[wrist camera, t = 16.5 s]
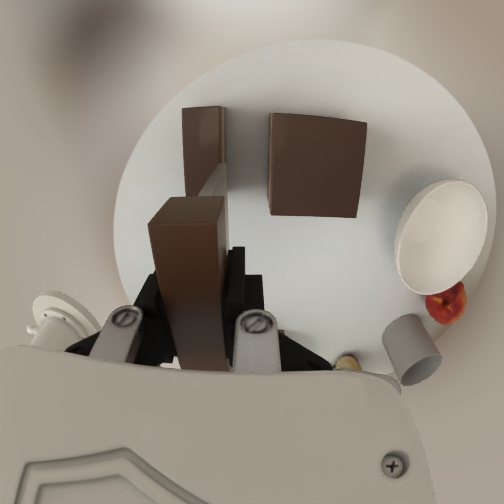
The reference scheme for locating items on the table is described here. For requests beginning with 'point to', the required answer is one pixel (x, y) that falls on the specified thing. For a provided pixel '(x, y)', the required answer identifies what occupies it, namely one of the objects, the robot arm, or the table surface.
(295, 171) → the cake
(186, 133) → the cake slice
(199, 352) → the knife
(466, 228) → the bowl
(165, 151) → the table surface
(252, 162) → the table surface
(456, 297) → the fruit
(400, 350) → the cup
